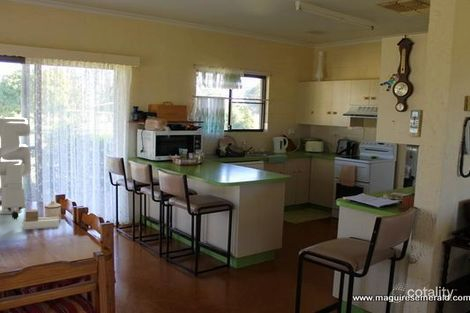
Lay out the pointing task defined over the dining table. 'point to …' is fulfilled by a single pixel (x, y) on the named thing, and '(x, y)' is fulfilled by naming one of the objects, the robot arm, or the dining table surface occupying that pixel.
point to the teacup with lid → (53, 210)
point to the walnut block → (32, 215)
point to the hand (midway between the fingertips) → (15, 219)
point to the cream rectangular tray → (41, 223)
